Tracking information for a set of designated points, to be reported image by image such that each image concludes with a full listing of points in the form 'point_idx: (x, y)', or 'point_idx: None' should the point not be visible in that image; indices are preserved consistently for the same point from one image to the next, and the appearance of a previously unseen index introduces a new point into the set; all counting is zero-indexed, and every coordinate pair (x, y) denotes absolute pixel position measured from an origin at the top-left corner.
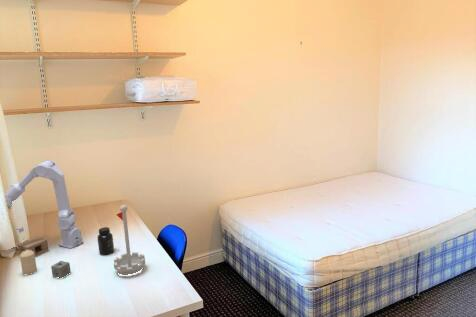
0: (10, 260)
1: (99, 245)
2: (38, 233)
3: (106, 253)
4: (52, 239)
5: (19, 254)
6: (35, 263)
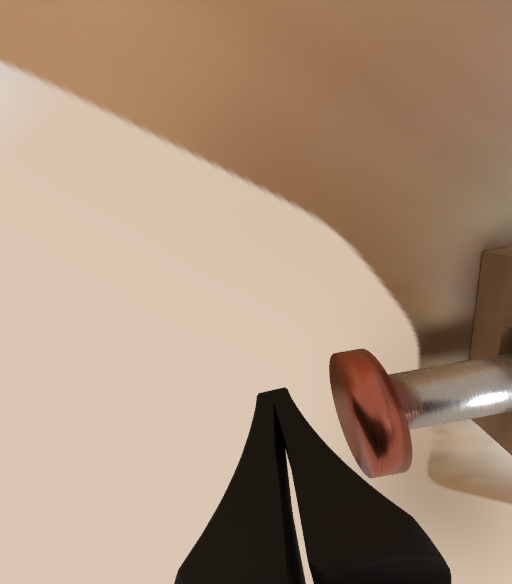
0: (457, 461)
1: None
2: (47, 14)
3: None
4: (449, 16)
5: (482, 423)
6: None
